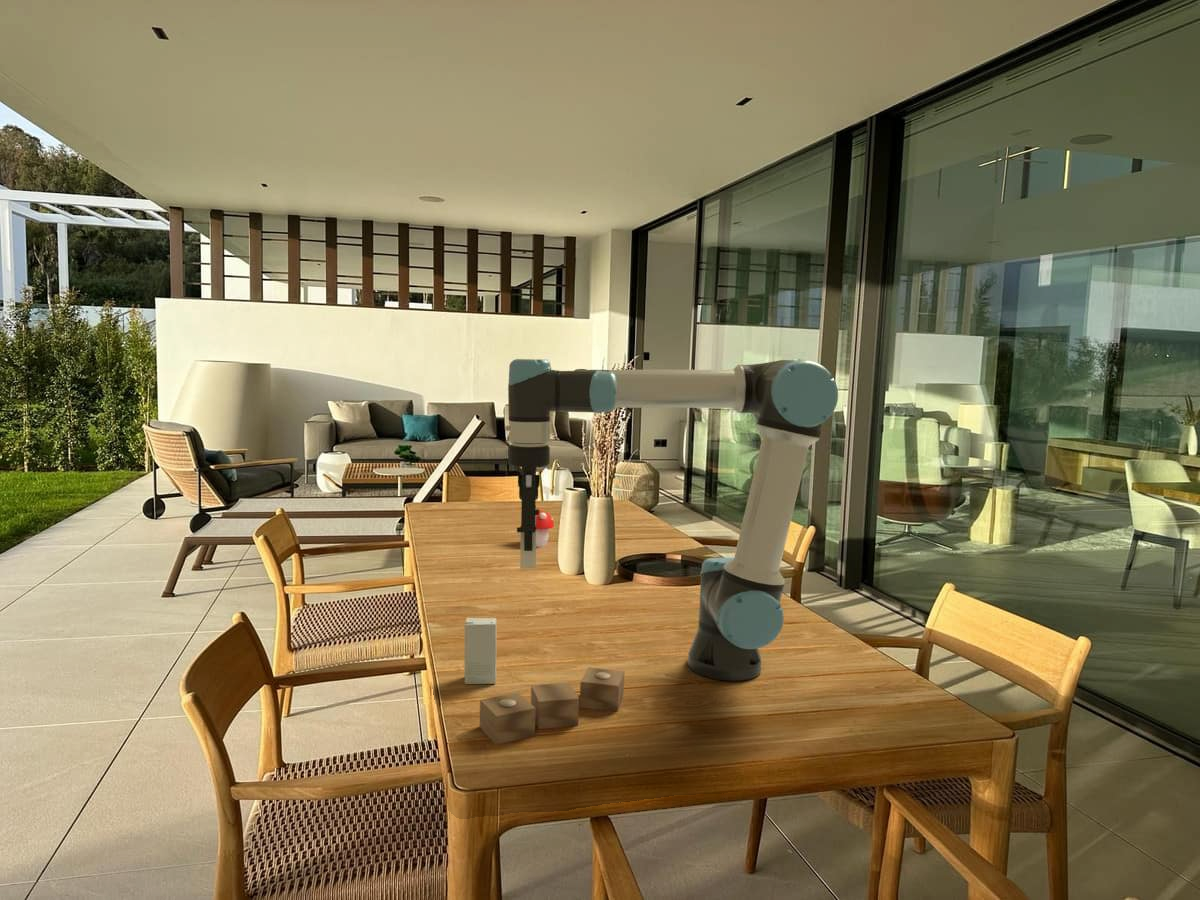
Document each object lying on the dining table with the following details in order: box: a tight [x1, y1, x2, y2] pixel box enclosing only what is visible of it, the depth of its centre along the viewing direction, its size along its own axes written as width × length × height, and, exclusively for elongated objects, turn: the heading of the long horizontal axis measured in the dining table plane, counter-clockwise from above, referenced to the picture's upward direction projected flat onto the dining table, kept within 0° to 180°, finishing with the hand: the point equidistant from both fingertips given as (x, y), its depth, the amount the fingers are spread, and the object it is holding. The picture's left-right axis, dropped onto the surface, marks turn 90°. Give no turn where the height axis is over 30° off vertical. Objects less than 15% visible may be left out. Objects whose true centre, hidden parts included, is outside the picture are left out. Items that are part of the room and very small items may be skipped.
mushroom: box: [535, 509, 555, 548], centre depth 268 cm, size 11×11×12 cm
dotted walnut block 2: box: [579, 667, 625, 712], centre depth 148 cm, size 7×7×5 cm
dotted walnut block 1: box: [479, 691, 536, 745], centre depth 134 cm, size 7×7×5 cm
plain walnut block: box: [530, 682, 580, 730], centre depth 140 cm, size 7×7×5 cm
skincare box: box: [464, 617, 497, 685], centre depth 154 cm, size 6×4×12 cm
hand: (528, 558), depth 148 cm, fingers open, 13 cm apart
